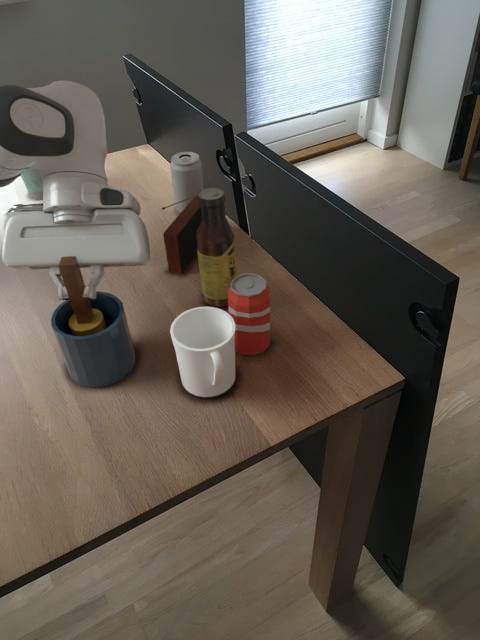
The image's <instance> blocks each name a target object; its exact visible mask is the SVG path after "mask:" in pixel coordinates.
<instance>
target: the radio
mask: <svg viewBox="0 0 480 640" xmlns="http://www.w3.org/2000/svg"><path fill="white" fill-rule="evenodd" d="M200 191H202V190H200ZM200 191H199V192H200ZM199 192H198V193H197V194H196V195H194V196H192V197H190V198H187V199H185V200H182V201H180V202H178V203H181V202H183V201H186V200H188V199H191V198H193V197H194V198H193V199H192V200H191V201H190V203H189V204H188V205H187V206H186V207H185V208H184V210H183V211H182V212H181V213H180V212H179V214H178V215H177V216H176V218H175V219H174V220H173V221H172V222H171V223H170V224H169V226H168V227H167V228H166V229H165V230H164V231H163V234H162V235H163V236H162V237H163V241H164V249H165V253H166V254H165V255H166V260H167V261H166V262H167V268H168V272H171V273H175V274H180V275H184V274H185V272H186V271H187V269H189V266H191V264H192V263H193V261H194V260H195V258H196V257H198V252H197V247H198V246H197V239H196V233H197V230H198V228H199V225H200V224H201V222H202V219H201V206H200V204H199V200H198V194H199ZM178 203H175V202H174V203H173V204H169V205H167V206H164V207H162V208H161V210H162V211H164V210H166V209H168V208H170V207H172V206H176V205H175V204H178Z"/></svg>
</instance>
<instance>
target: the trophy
mask: <svg viewBox="0 0 480 640" xmlns="http://www.w3.org/2000/svg"><path fill="white" fill-rule="evenodd" d="M58 266H59V269H60V272H61V275H62V276H61V278H62V280H63V281H64V284H65V287H66V290H67V293H68V296H69V299H70V302H71V305H72V308H73V311H74V314H73V315H72V316H71V317H70V319H69V326H70V329H71V332H72V335H73V336H88V335H92V334H96V333H98V332H101V331H103V330H105V329H107V328H106V324H105V321H104V317H103V314H102V312H101V311H99V310H97V309H94V308H92V307H91V304H90V301H89V299H83V288H82V286H86V285H85V281H84V278H83V274H82V272H81V268H79V264H78V261H77V258H76V256H69V257H61V260H60V262H59V265H58Z"/></svg>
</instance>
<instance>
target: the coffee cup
mask: <svg viewBox="0 0 480 640" xmlns="http://www.w3.org/2000/svg"><path fill="white" fill-rule="evenodd" d="M20 177H21V179H22V182H23V184H24V186H25V188H26V190H27V192H28V194H29V197H30V198H32V199H35V200H43V175H42V172H41V171H40V170H38V169H35V168H31V167H30V168H28V169H27V170H25V171H24V172H22V174H21V175H20Z"/></svg>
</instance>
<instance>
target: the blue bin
mask: <svg viewBox="0 0 480 640" xmlns="http://www.w3.org/2000/svg"><path fill="white" fill-rule="evenodd" d="M89 301H90V304H91V307H92V308H94V309H97V310H99V311H101V312H102V314H103V317H104V321H105V324H106V328H107V329H105V330H103V331H101V332H98V333H96V334H92V335H88V336H73V335H72V332H71V329H70V326H69V319H70V317H71V316H72V315H73V314H74V311H73V308H72V305H71V302H70V300H63V302H61V303H60V304H59V305H58V306H57V307H56V308H55V309H54V310H53V312H52V314H51V318H50V323H51V328H52V331H53V334H54V337H55V340H56V342H57V344H58V347H59V348H58V349H59V351H60V352H61V355H62V358H63V362H64V363H65V366H66V369H67V371H68V373H69V376H70V377H71V379H72V380H73V381H74V382H75V383H77V384H78V385H80V386H83V387H87V388H102V387H107V386H110V385H113V384H115V383H118V382H119V381H121V380H123V379H124V378H125V377H126V376H128V374H130V372H131V371H132V369H133V368H134V366H135V363H136V351H135V347H134V343H133V340H132V336H131V331H130V326H129V323H128V319H127V315H126V310H125V307H124V303H123V301H122V300H121V299H120V298H119V297H118V296H116V295H114V294H112V293H110V292H105V291H97V290H96V299H89Z"/></svg>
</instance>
